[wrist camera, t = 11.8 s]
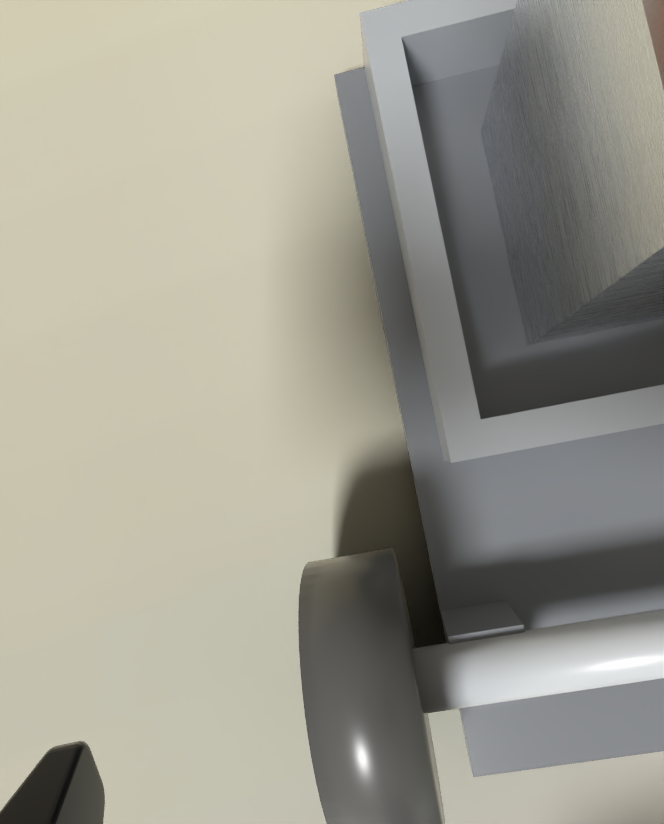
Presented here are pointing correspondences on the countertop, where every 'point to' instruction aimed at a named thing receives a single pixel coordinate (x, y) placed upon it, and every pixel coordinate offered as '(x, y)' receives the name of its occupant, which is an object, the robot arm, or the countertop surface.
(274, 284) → the countertop surface
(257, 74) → the countertop surface
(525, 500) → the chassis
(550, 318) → the block
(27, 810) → the robot arm
